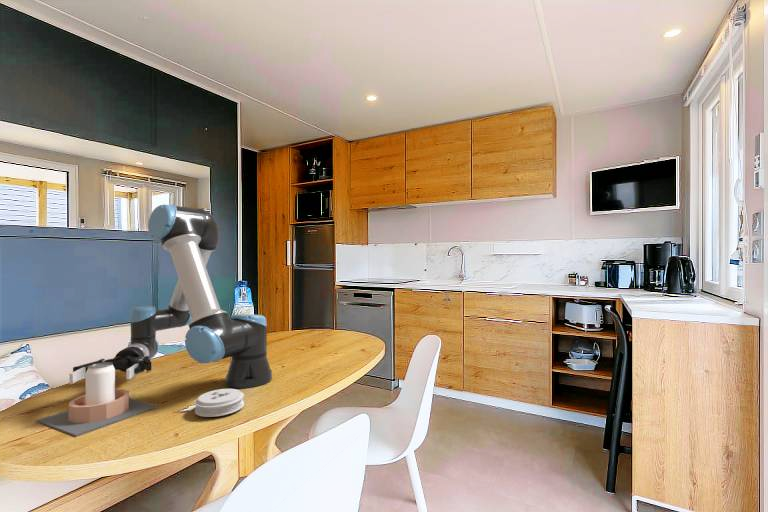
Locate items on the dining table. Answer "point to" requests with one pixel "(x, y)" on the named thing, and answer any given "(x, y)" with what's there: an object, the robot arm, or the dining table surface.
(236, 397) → the lid
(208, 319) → the robot arm
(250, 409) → the dining table surface
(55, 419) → the mat
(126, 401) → the bowl
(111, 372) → the can
